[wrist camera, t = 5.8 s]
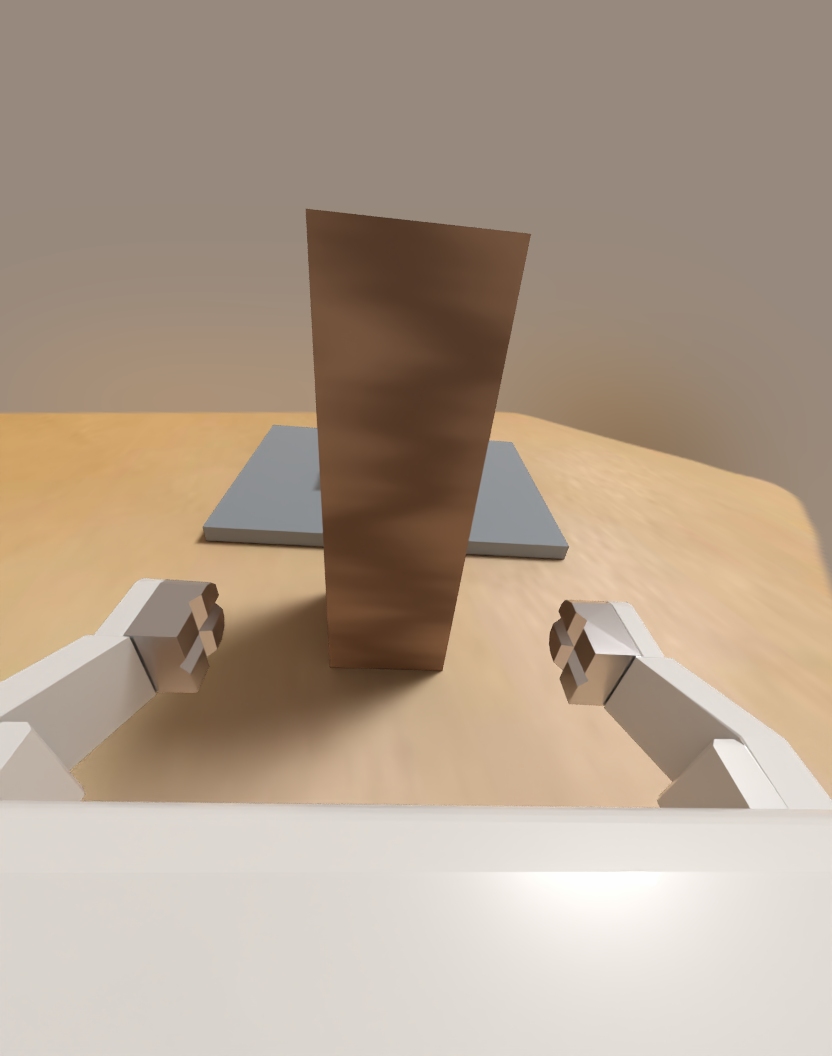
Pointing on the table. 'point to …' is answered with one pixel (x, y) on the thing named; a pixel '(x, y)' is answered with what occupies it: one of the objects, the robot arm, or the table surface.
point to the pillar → (403, 419)
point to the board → (296, 513)
